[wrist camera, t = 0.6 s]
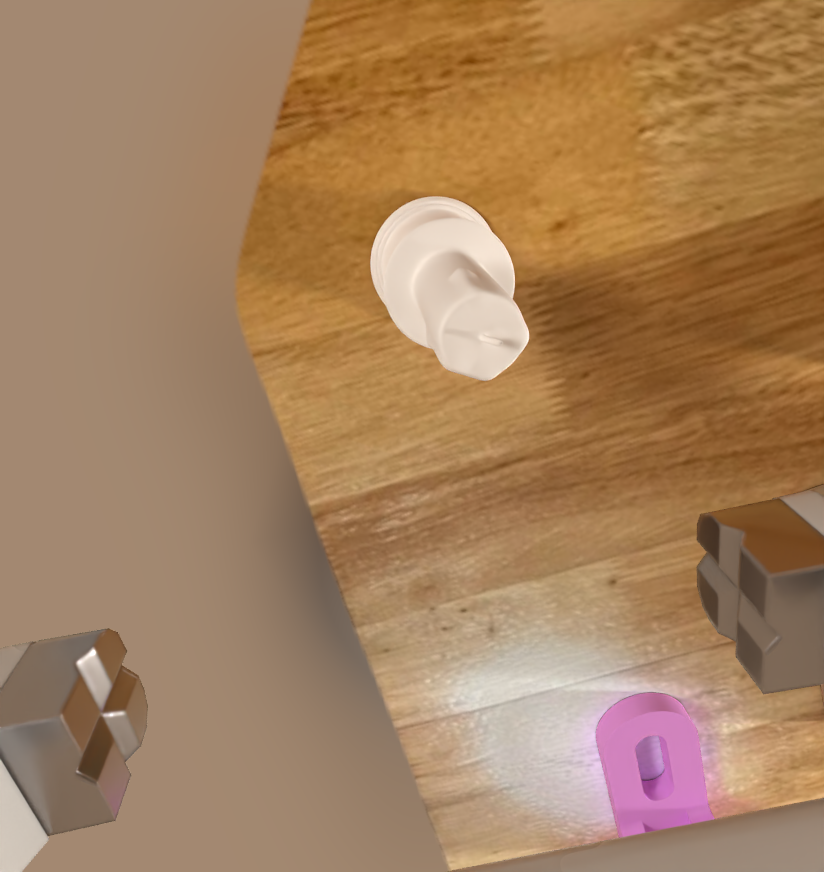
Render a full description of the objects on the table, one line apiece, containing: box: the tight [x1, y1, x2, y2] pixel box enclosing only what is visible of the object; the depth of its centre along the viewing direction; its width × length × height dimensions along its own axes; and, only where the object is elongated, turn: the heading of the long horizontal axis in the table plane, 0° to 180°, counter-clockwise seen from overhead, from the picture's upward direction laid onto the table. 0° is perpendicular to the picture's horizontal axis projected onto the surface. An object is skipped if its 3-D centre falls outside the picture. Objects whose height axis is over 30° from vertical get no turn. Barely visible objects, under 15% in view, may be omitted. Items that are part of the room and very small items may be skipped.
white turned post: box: [370, 196, 529, 381], centre depth 23 cm, size 5×5×12 cm
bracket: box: [596, 693, 715, 838], centre depth 39 cm, size 13×6×7 cm, turn 16°
